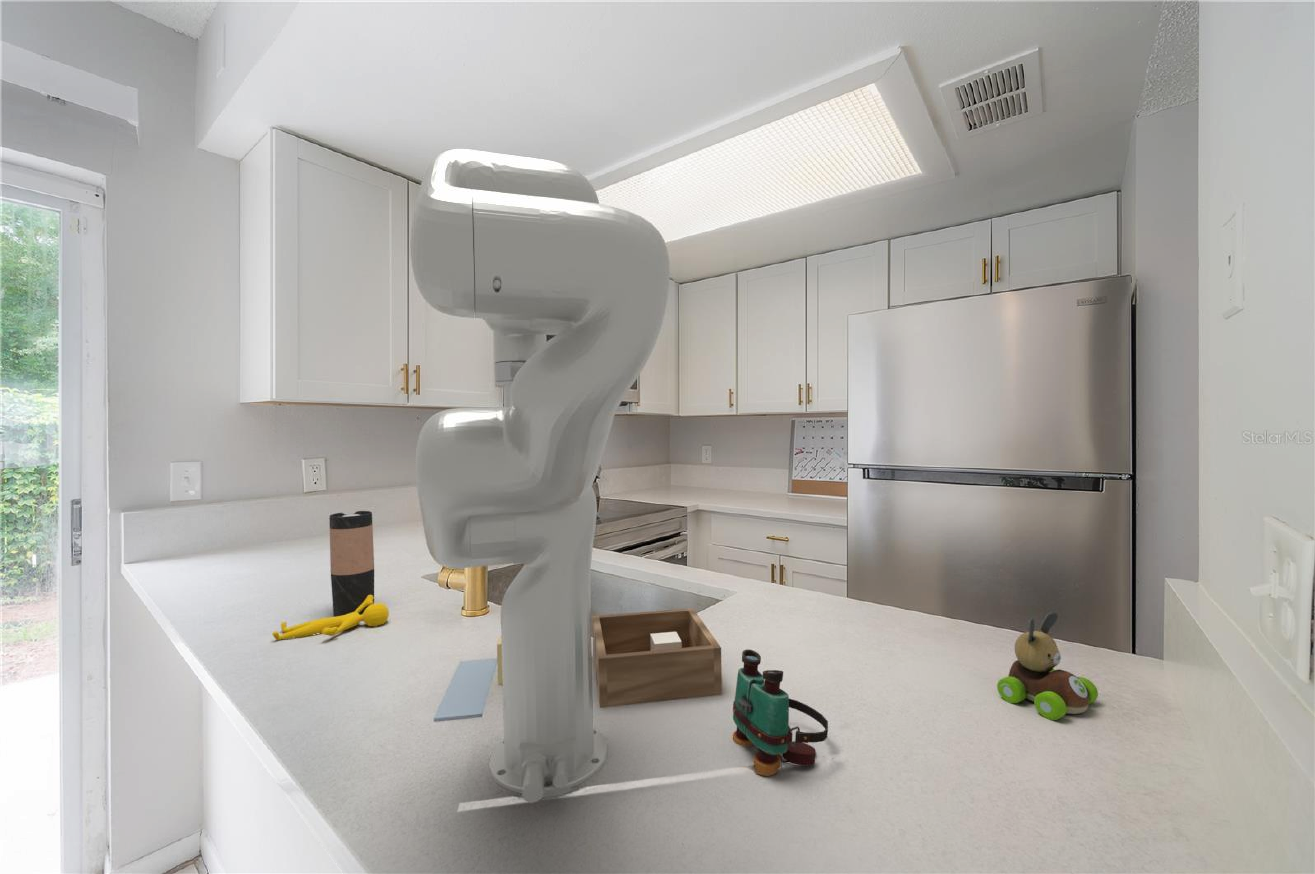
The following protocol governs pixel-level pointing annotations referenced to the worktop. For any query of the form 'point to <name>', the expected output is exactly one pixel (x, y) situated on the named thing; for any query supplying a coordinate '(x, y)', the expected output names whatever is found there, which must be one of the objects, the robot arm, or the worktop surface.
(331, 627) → the figurine
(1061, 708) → the toy car
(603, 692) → the box
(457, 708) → the lid
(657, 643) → the cream cube
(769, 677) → the binoculars
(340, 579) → the travel mug
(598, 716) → the worktop surface
